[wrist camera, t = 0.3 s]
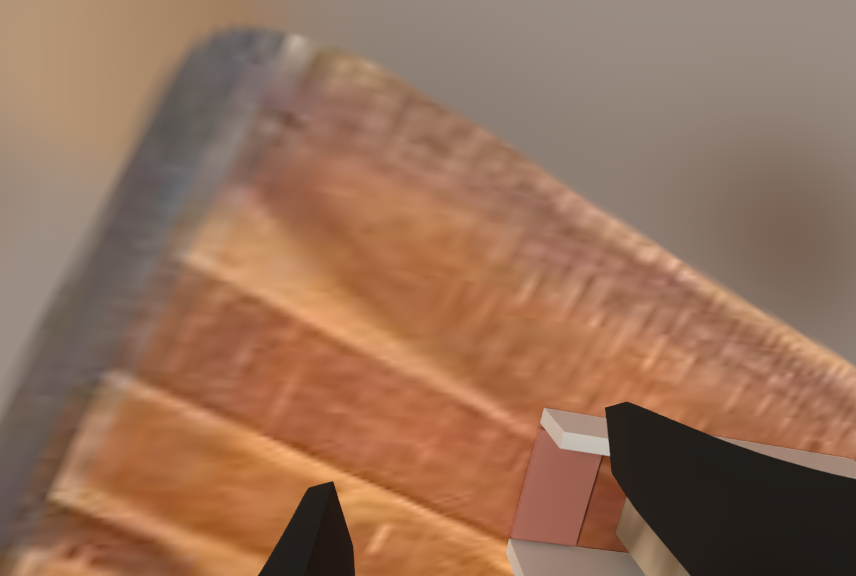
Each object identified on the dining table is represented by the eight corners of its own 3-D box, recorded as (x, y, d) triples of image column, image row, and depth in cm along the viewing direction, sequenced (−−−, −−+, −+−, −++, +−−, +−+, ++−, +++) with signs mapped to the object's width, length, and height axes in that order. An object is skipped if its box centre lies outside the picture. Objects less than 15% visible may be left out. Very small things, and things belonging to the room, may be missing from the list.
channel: (801, 586, 27) (844, 625, 24) (505, 552, 24) (520, 591, 22) (849, 458, 25) (900, 484, 23) (544, 407, 23) (564, 431, 20)
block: (689, 541, 25) (755, 612, 21) (614, 532, 25) (665, 602, 20) (713, 467, 25) (787, 524, 20) (637, 455, 24) (696, 511, 20)
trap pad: (573, 541, 24) (575, 545, 24) (510, 534, 24) (512, 538, 24) (603, 437, 23) (606, 440, 23) (539, 427, 23) (541, 430, 23)
